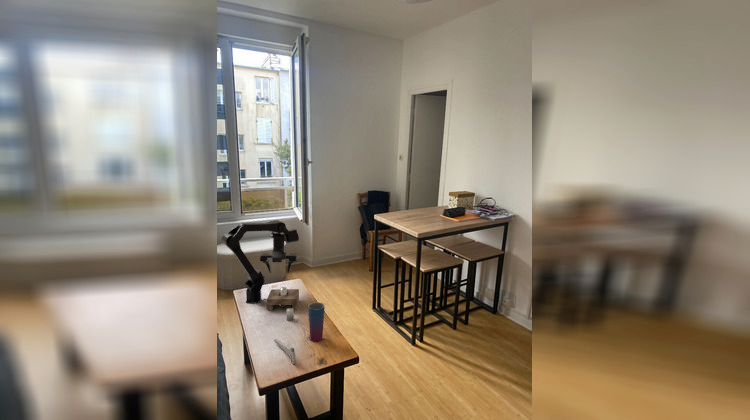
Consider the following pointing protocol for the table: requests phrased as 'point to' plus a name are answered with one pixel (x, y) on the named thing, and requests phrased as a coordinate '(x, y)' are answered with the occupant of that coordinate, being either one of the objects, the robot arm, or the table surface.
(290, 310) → the short pin
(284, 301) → the board
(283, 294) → the long pin
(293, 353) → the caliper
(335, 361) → the table surface
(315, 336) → the cup
